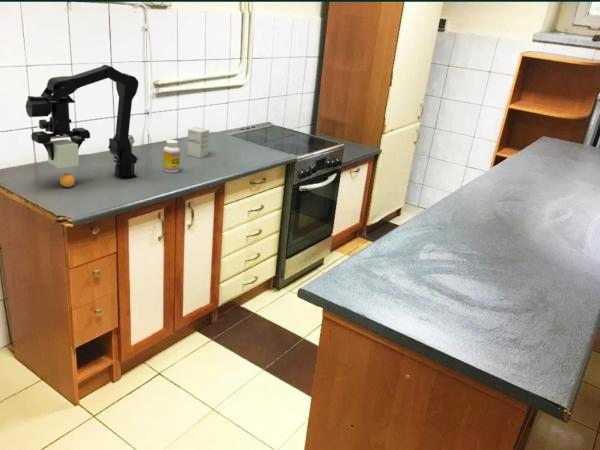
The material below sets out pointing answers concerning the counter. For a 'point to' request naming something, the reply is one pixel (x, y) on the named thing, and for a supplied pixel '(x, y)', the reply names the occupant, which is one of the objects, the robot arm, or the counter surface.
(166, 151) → the supplement bottle
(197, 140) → the supplement box
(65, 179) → the ball
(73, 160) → the sage green cuboid
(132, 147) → the food container
